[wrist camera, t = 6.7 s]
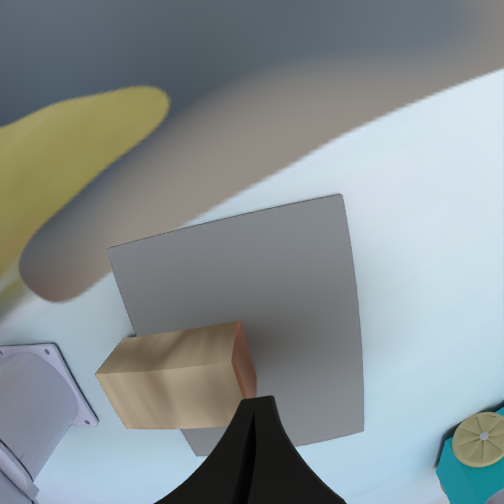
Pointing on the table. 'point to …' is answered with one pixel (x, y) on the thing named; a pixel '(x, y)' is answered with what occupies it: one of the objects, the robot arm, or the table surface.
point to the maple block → (180, 377)
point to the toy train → (474, 459)
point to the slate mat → (262, 307)
